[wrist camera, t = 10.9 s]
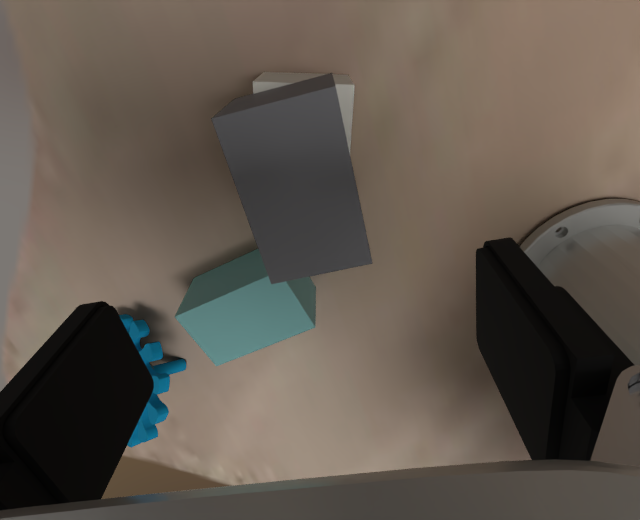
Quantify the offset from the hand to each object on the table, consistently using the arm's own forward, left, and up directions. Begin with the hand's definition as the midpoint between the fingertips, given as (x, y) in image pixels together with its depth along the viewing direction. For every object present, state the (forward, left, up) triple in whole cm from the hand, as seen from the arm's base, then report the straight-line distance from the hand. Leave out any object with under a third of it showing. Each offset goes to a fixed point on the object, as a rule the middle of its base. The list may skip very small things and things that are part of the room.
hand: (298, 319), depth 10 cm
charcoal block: (0, 0, -13) cm, 13 cm away
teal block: (+6, +10, -18) cm, 22 cm away
